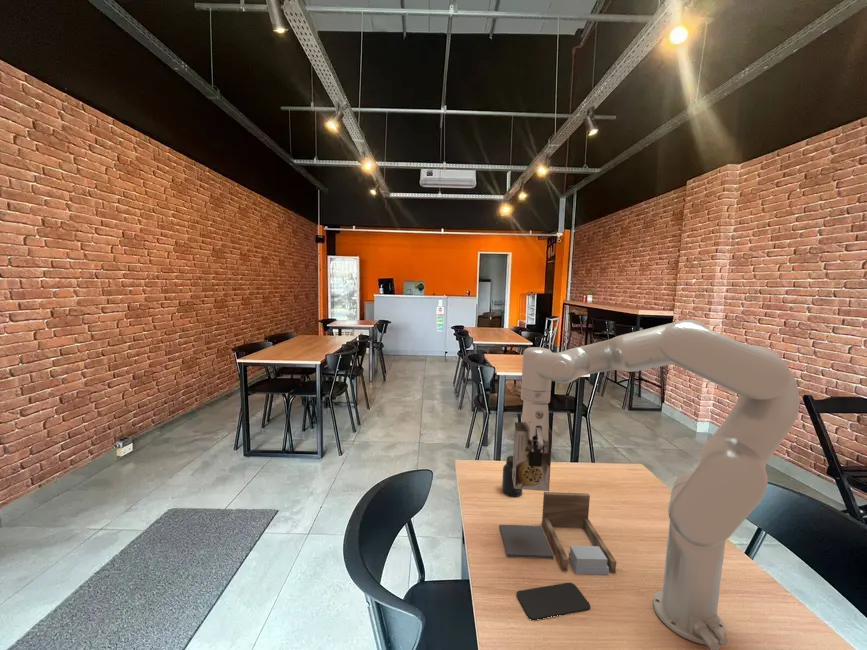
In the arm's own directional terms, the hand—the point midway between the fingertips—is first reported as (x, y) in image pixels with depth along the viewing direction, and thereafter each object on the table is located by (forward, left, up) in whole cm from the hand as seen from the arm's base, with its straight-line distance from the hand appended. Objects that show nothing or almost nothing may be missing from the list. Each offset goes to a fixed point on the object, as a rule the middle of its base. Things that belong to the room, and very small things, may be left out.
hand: (531, 458), depth 98 cm
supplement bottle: (+25, -1, -24) cm, 35 cm away
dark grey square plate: (0, 0, -24) cm, 24 cm away
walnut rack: (-1, -13, -24) cm, 27 cm away
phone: (-19, -1, -24) cm, 31 cm away
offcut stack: (-8, -14, -24) cm, 29 cm away
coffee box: (0, 0, -7) cm, 7 cm away
